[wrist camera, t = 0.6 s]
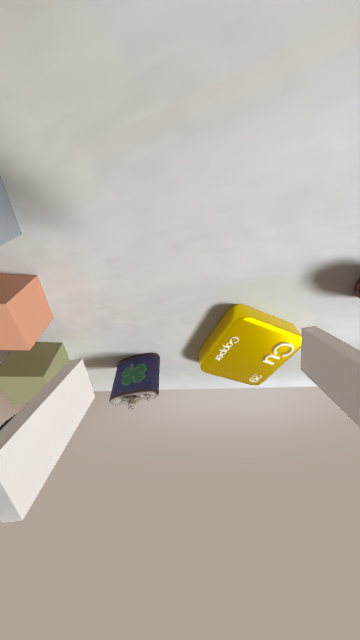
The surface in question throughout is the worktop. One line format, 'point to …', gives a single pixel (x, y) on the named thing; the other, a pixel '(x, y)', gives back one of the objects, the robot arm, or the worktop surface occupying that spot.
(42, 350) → the olive block
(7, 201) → the slate block
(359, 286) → the supplement bottle
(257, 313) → the element tile
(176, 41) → the worktop surface
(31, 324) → the terracotta block
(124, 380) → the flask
